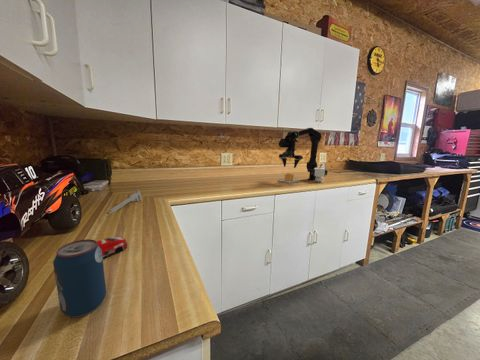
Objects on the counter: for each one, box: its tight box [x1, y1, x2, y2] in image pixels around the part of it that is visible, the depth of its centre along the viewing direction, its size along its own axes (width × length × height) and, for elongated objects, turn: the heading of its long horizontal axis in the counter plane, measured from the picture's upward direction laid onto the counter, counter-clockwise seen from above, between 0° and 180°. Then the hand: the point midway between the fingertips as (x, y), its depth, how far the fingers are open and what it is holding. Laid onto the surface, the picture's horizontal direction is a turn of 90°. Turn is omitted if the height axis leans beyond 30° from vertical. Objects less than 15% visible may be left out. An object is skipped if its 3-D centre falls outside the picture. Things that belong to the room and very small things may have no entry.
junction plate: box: [277, 178, 301, 185], centre depth 168 cm, size 13×13×4 cm
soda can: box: [52, 238, 107, 318], centre depth 38 cm, size 7×7×12 cm
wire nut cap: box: [283, 172, 294, 181], centre depth 168 cm, size 5×5×6 cm
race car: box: [96, 236, 128, 260], centre depth 55 cm, size 13×5×4 cm, turn 146°
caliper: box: [107, 188, 142, 214], centre depth 96 cm, size 20×1×6 cm, turn 170°
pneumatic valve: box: [312, 166, 328, 183], centre depth 171 cm, size 6×12×12 cm, turn 78°
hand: (289, 167), depth 166 cm, fingers open, 9 cm apart
